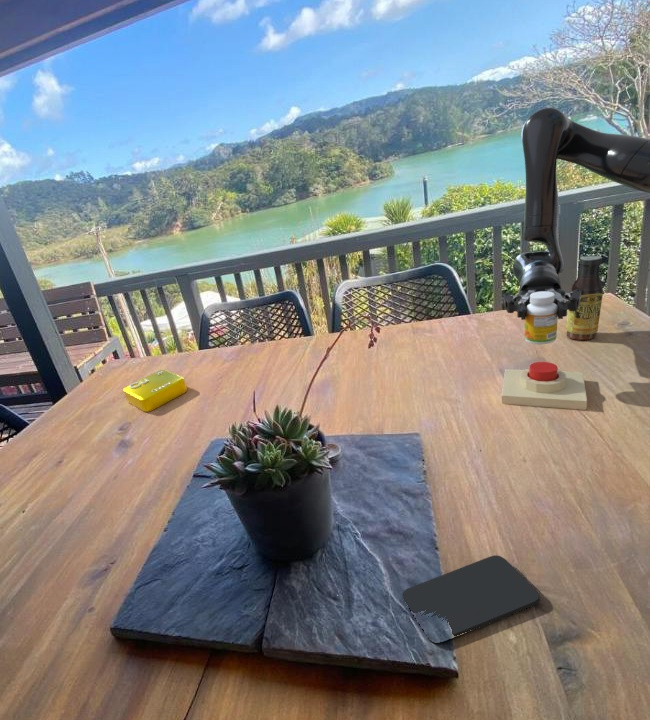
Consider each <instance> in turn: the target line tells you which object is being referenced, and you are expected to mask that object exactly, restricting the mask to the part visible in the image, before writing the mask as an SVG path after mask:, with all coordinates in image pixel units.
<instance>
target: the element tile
mask: <svg viewBox="0 0 650 720" xmlns="http://www.w3.org/2000/svg"><path fill="white" fill-rule="evenodd" d="M122 389H123V393H124V396H125V399H126V401H127V403H129V404H131V405H132V406H134V407H135V408H138V409H139V410H140V411H142V412H145V413H149V412H152V411H154V410H156V409H158V408H160V407H161V406H163V405H165V404H167V403H169V402H171V401H173V400H175V399H176V398H178V397H180V396H182V395H184V394H185V393H186V392H188V387H187V384H186V381H185V378H184V377H183V376H181V375H178V374H176V373H173V372H171V371H168V370H166V369H159V370H157V371H155V372H153V373H151V374H150V375H147V376H145V377H143V378H141V379H139V380H137V381H135V382H133V383H130V384H129V385H127V386H125V387H124V388H122Z"/></svg>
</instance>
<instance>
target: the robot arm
mask: <svg viewBox="0 0 650 720" xmlns="http://www.w3.org/2000/svg"><path fill="white" fill-rule="evenodd" d="M521 143H522V150H523V151H522V152H523V157H524V158H523V159H524V169H525V194H524V195H525V197H524V198H525V199H524V213H523V214H524V215H523V230H522V232H523V233H522V235H523V240H524V241H526V242H529V243H538V244H543V246H545V247H546V250H537V251H526V252H525V251H524V252H522V253H520V254H518V255H517V256H516V257H515V259H514V260H513V264H512V272H513V275H514V277H515V278H516V280H517V281H518V282H519V289H518V290H519V292H518V293H517V294H516V295H514V294H511V293H509V292H505V293H503V295H502V296H503V297H502V305H503V307H504V309H505V310H506V313H508V314H513V313H516V316H517V318H521V321H525V316H526V307H527V305H529V304H530V295H531V294H532V293H535V292H540V291H548V292H552V293H554V295H555V296H554V298H555V299H554V302H553V303H555V304H556V305H557V306H558V318H557V320H563V319H564V317H568V310H569V311H577V309H578V306H579V304H580V301H581V290H580V289H576V290H574V291H573V292H571V291H569V292H566V291H565V290H563V289H562V285H561V280H560V276H561V275H562V273H563V272H564V267H565V262H564V258H563V254H562V250H561V247H560V244H559V243H560V242H559V237H558V226H559V225H558V223H559V211H560V210H559V208H560V207H559V206H560V205H559V192H558V179H557V162H558V160H560V161H563V162H568V163H571V164H575V165H578V166H581V167H583V168H584V169H587V170H588V171H590V172H592V173H594V174H596V175H598V176H600V177H603V178H605V179H607V180H609V181H611V182H614V183H616V184H618V185H621V186H624V187H627V188H631V189H632V190H636V191H640V192H643V193H647V194H648V193H649V194H650V138H646V137H642V136H637V135H630V134H618V133H609V132H608V133H607V132H603V131H602V132H601V131H598V130H594V129H593V128H590V127H587V126H584V125H582V124H580V123H578V122H575V121H574V120H572V119H570V118H569V117H568V116H567V115H566V114H565V113H564V112H563V111H562V110H560V109H558V108H556V107H544V108H541V109H538V110H537V111H535V112H533V113H532V114H531V115H530V116H529V117H528V118H527V119H526V121H525V122H524V124H523V126H522V129H521Z"/></svg>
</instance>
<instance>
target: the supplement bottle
mask: <svg viewBox="0 0 650 720" xmlns="http://www.w3.org/2000/svg"><path fill="white" fill-rule="evenodd" d="M554 296H555V295H554V293H552V292H548V291H540V292H535V293H532V294H531V295H530V304H529V305H527V307H526V316H525V320H524V340H525V342H526V343H528V344H531V345H539V346H541V345H548V344H549V345H550V344H552V343H554V342H556V340H557V334H558V306H557V305H556V304H555V303H553V302H554V299H555V298H554Z"/></svg>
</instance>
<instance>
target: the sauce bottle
mask: <svg viewBox="0 0 650 720" xmlns="http://www.w3.org/2000/svg"><path fill="white" fill-rule="evenodd" d="M602 259H603V257H602V256H600V255H585V256H581V257H580V259H579V262H578V264H579V272H578V277H577V278H576V279H575V280H574V282H573V284H572V285H571V288H570V292H573V291H574V290H576V289H580V290H581V301H580V304H579V306H578V309H577V311H569V310H567V316H566V318H567V319H566V326H565V330H566V332H565V333H566V337H567V338H569V339H571V340H575V341H576V340H577V341H587V340H588V341H589V340H592V339H595V338H596V336H597V332H598V330H599V323H600V317H601V309H602V303H603V302H602V301H603V295H604V289H603V287H604V285H603V281H602V279H601V277H600V269H601V264H602V262H603V261H602Z"/></svg>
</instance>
